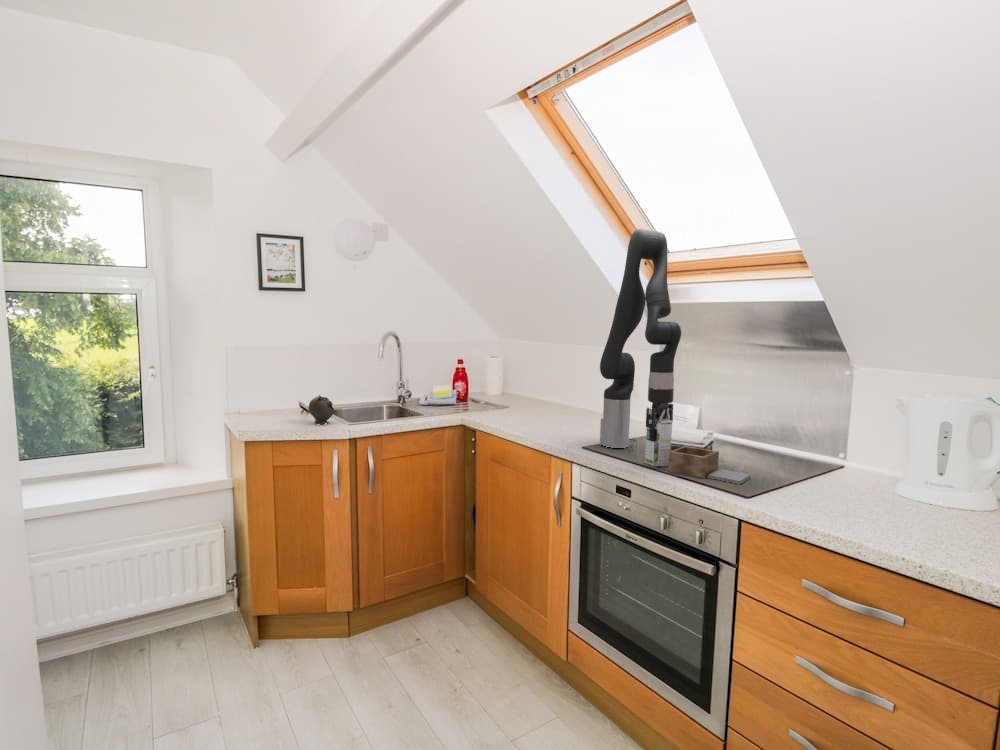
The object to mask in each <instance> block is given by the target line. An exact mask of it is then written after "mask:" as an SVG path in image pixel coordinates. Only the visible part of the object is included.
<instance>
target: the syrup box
mask: <svg viewBox="0 0 1000 750" xmlns="http://www.w3.org/2000/svg"><path fill="white" fill-rule="evenodd" d="M649 423H650V420H649ZM655 423H656V422H655ZM672 431H673V422H672V420H668V419H662V420H661V423H658V428H657V441H650V440H649V435H650V428H648V427H646V437H645V453H644V456H645V457H644V463H645V464H647V465H649V464H650V465H649V466H652V467H654V466H655V467H654V468H658V467H657V466H662V467H669V452H670V451H672V433H673V432H672Z"/></svg>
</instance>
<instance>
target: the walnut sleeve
mask: <svg viewBox="0 0 1000 750" xmlns="http://www.w3.org/2000/svg"><path fill="white" fill-rule="evenodd" d="M719 457H720V451H719V450H712V449H706V448H701V447H694V446H687V445H683V446H681V447H677V448H675V449H673V450H671V451H670V452H669V466H668V472H669V471H671V472H670V473H674V472H676V473H675V474H679V473H681V474H680V475H684V474H685V476H689V475H691V477H694V476H696V477H695V478H699V477H702V478H701V479H706V478H708V474H710V473H712V472H714V471H716V470H718V469H719ZM705 477H706V478H705Z"/></svg>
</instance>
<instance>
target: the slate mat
mask: <svg viewBox="0 0 1000 750" xmlns="http://www.w3.org/2000/svg"><path fill="white" fill-rule="evenodd" d="M709 478H711V479H710V480H714V479H717V480H716V481H719V480H721V481H720V482H724V481H726V483H729V482H732V483H731V484H735V483H736V484H737V485H742V484H743V483H745V482H746V481H748V480H749V479H751V474H750V473H745V472H739V471H733V470H729V469H728V470H727V469H722V468H718V470H716V471H714V472H712V473H710V474H708V477H707V479H709ZM741 483H742V484H741Z"/></svg>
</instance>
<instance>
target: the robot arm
mask: <svg viewBox="0 0 1000 750" xmlns="http://www.w3.org/2000/svg"><path fill="white" fill-rule="evenodd" d="M667 242H668V241H667V237H666V235H665V233H663V232H661V231H656V230H651V229H644V228H637V229H635V230H633V232H632V234H631V236H630V239H629V242H628V246H627V250H626V259H625V264H624V265H625V266H624V273H623V277H622V282H621V286H620V288H619V289H620V290H619V295H618V297H617V302H616V306H615V310H614V315H613V319H612V323H611V327H610V329H609V330H610V332H609V334H608V337H607V341H606V344H605V346H604V349H603V352H602V354H601V358H600V363H599V370H600V374H601V376H602V377H603V378H604V379H605V380H613V382H612V384H611V385H610V386H608V387H606V389H605V390H604V391H603V411H602V412H603V413H602V416H603V417H602V418H601V419H600V430H599V446H601V445H603V446H602V447H604V446H606V447H605V448H607V447H611V448H610V449H612V448H624V449H627V448H626V447H628V446H630V445H629V444H630V426H631V425H630V422H631V421H630V420H631V419H630V418H631V397H632V396H631V395H632V393H633V390H634V381H635V370H636V365H635V359H634V358H633V356H632V355H631V354H630V353H629V352H623V350H624V347H625V344H626V343H627V341H628V339H629V338H630V336H631V335H632V334H633V332H634V331H635V330H636V328H637V327H638V326H639V324H640V323H641V321H642V318H643V316H644V315H643V314H644V311H645V307H646V309H647V315H646V316H647V317H646V324H645V331H644V337H645V339H646V342H647V343H649V344H650V345H656V346H657V345H660V346H661V345H662V346H663V345H664V348H663V349H662V350H661V351H657V352H653V353H651V355H650V358H649V359H650V361H649V363H650V364H649V375H648V376H649V377H648V385H647V386H648V387H647V388H648V391H647V400H648V402H649V403H652V405H651V407H647V408H646V411H645V412H646V413H645V427H646V428H647V427H648V428H650V435H649V440H650V441H657V428H658V423H661V420H662V419H668V420H672V423H673V420H674V419H673V418H674V404H673V402H674V387H675V385H674V384H675V377H674V368H675V367H674V366H675V365H674V364H675V356H676V354H677V350H678V347H679V344H680V341H681V338H682V329H681V326H680V325H679V323H678V322H676V321H659V320H658V319H664V318H666V317H668V316H670V314H671V312H672V306H671V301H670V295H669V288H668V243H667ZM642 260H648V261H652V265H653V273H652V274H651V277H650V279H649V281H648V283H647V285H646V288H645V290H644V287H643V284H642V281H641V276H640V268H641V261H642ZM649 420H650V423H649ZM655 422H656V423H655ZM628 448H629V447H628Z"/></svg>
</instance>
